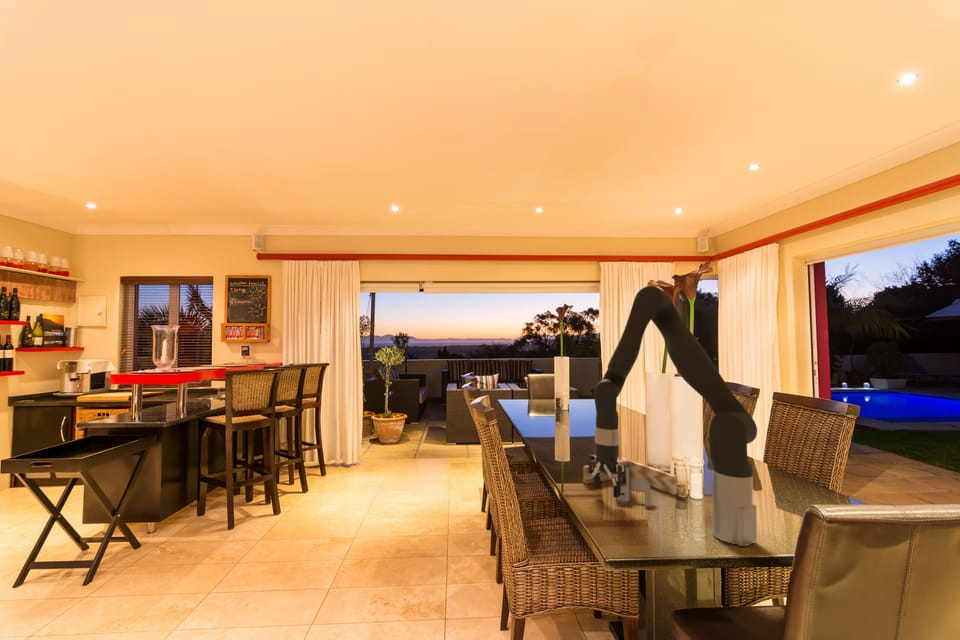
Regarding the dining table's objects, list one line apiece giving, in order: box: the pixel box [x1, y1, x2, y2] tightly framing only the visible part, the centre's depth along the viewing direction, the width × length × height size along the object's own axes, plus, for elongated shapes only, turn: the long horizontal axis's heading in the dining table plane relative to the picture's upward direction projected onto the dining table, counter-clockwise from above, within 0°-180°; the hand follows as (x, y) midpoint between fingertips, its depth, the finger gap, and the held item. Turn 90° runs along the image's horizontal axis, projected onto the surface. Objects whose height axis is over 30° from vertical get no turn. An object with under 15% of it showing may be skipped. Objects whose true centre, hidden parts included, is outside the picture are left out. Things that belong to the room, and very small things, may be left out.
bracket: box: [615, 467, 652, 510], centre depth 143 cm, size 10×14×10 cm
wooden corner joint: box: [582, 457, 677, 495], centre depth 152 cm, size 24×22×6 cm
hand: (606, 492), depth 139 cm, fingers open, 8 cm apart
